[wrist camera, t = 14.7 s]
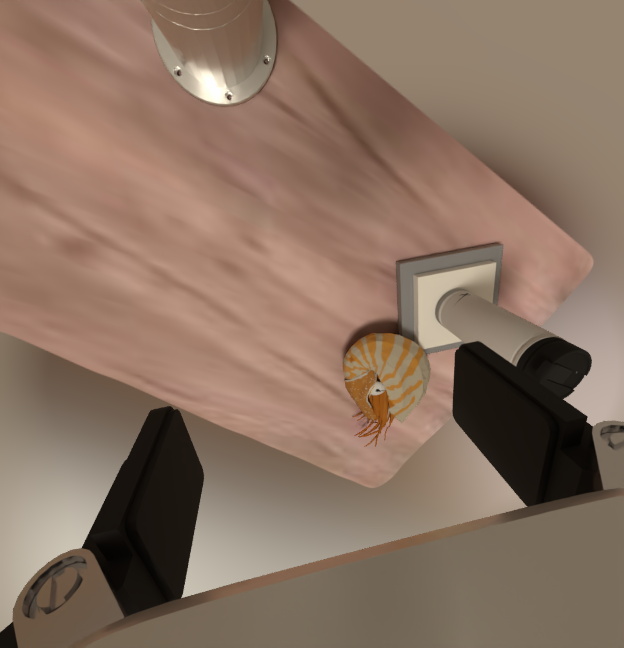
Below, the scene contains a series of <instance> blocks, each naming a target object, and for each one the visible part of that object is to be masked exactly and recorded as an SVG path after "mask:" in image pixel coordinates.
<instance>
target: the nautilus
mask: <svg viewBox="0 0 624 648" xmlns="http://www.w3.org/2000/svg"><path fill="white" fill-rule="evenodd" d="M343 373H344V375H345V386H346V389H347V390H348V392H349V394H350V395H351V397H352V398H353V400H354V401H355V402H356V404H357V406H358V407H359V408H360V410H361V411H362V412H361V413H360V414H362V413H363V414H364V416H366V417H367V418H368V419H369V420H370V419H371V420H372V422H371V424H370V425H369V426H368V427H367V428H365V429H364V430H363V431H361V432H359V433H358V434H360V433H361V434H362V433H363V432H365V431H366V430H367V429H368V428H369V427H370V426H371V425H372V424H373V423H377V424H376V425H375V426H374V428H373V429H372V430H371V431H369V432H368V433H366V434H364V435H362V436H358V437H365V436H369V435H372V434H374V433H377V432H378V434H377V435H376V436H375V437H374V438H373V440H374V439H375V438H376V437H377V438H378V435H379V433H381V430H382V428H383V427H384V426H385V425H386V422H387V421H388V420H389V417H390V425H391V423H392V421H393V419H394V417H395V418H397V419H398V420H399V421H400V422H401V423H403V421H404V420H405V419H406V418H407V416H408V415H409V414H410V413H411V411H412V410H413V409H414V408H415V407H416V406H417V405H418V403H419V402H420V400H421V399H422V397H423V396H424V394H425V393H426V389H427V384H428V382H429V378H430V364H429V361H428V358H427V356H426V354H425V352H424V351H423V350H422V348H421V347H420V346H419V345H417V344H416V343H415V342H414V341H412V340H409V339H407V338H405V337H403V336H400V335H397V334H391V333H371V334H368V335H366V336H364V337H362V338H361V339H359V340H358V341H357V342H356V343H355V344H354V345H353V346H351V348H350V349H349V350H348V352H347V353H346V355H345V358H344V360H343ZM360 414H357V415H360ZM357 415H356V416H357ZM364 416H363V417H364ZM353 417H355V416H353ZM363 417H361V418H363ZM378 417H379V418H378ZM361 418H360V419H361ZM360 419H359V420H360ZM377 419H378V422H376V421H375V422H374V420H377ZM369 420H368V422H369ZM357 421H358V420H357ZM368 422H367V423H368ZM379 424H380V427H379V430H378V431H375V432H373V433H370V432H372V431H373V430H375V429H376V428H377V427H378V426H379ZM383 424H384V425H383ZM390 425H389V427H390ZM375 427H376V428H375ZM387 429H388V428H387ZM387 429H386V431H387ZM369 433H370V434H369ZM358 434H356V435H358ZM361 434H360V435H361ZM367 434H368V435H367ZM354 436H355V435H354ZM385 436H386V432H385ZM377 438H376V444H377ZM373 440H372V441H371V442H370V443H372V442H373ZM384 440H385V439H384ZM370 443H369V444H370ZM369 444H367V445H369ZM376 444H375V446H376ZM367 445H366V446H367ZM364 447H365V446H364Z"/></svg>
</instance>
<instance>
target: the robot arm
mask: <svg viewBox="0 0 624 648" xmlns="http://www.w3.org/2000/svg"><path fill="white" fill-rule="evenodd" d="M141 1H142V3H143V4H144V6H145V7H146V9H147V10H148V12H149V14H150V15H151V25H152V31H153V36H154V41H155V44H156V47H157V49H158V52H159V55H160V57H161V59H162V61H163V63H164V65H165V66H166V68H167V70H168V71H169V73H170V74H171V75H172V77H173V78H174V79H175V80H176V82H177V83H178V84H179V85H180V86H181V87H182V88H183V89H184V90H186V91H187V92H188V93H189V94H190V95H192V96H193V97H195V98H197V99H198V100H200V101H202V102H205V103H207V104H210V105H214V106H221V107H227V106H236V105H239V104H242V103H244V102H246V101H248V100H249V99H251V98H253V97H254V96H255V95H256V94H257V93H258V92H259V91H260V90H261V89H262V88H263V86H264V85H265V83H266V82H267V80H268V78H269V76H270V73H271V71H272V68H273V64H274V60H275V54H276V28H275V21H274V17H273V13H272V10H271V7H270V4H269V2H268V0H141ZM265 60H267V61H268V62H269V63H268V64H267V65H266V64H264V61H265ZM179 71H181V72H182V75H181V76H178V75H177V73H178V72H179ZM229 95H230V96H231V97H232V99H231V100H228V99H227V97H228V96H229ZM452 411H453V417H454V419H455V421H456V422H457V424H458V425H459V426H460V427H461V428H462V430H463V431H464V432H465V433H466V434H467V436H468V437H469V438H470V439H471V440H472V442H473V443H474V444H475V445H476V446H477V447H478V449H479V450H480V451H481V452H482V453H483V454H484V456H485V457H486V458H487V459H488V461H489V462H490V463H491V464H492V465H493V466H494V468H495V469H496V470H497V471H498V473H499V474H500V475H501V476H502V477H503V478H504V480H505V481H506V482H507V483H508V484H509V486H510V487H511V488H512V489H513V490H514V492H515V493H516V494H517V495H518V496H519V498H520V499H521V500H522V501H523V502H524V503H525V505H526V506H528V507H525V508H522V509H518V510H514V511H510V512H506V513H502V514H498V515H494V516H490V517H486V518H482V519H478V520H474V521H470V522H466V523H463V524H458V525H454V526H451V527H447V528H443V529H439V530H435V531H431V532H428V533H423V534H419V535H415V536H412V537H408V538H404V539H400V540H396V541H392V542H389V543H385V544H381V545H377V546H373V547H369V548H365V549H362V550H358V551H354V552H350V553H346V554H342V555H339V556H335V557H331V558H327V559H324V560H320V561H316V562H313V563H308V564H305V565H301V566H297V567H293V568H290V569H286V570H282V571H279V572H275V573H271V574H267V575H263V576H260V577H256V578H252V579H248V580H245V581H241V582H237V583H233V584H230V585H226V586H223V587H219V588H216V589H212V590H209V591H206V592H202V593H198V594H195V595H191V596H188V597H185V598H181V597H182V594H183V589H184V585H185V579H186V574H187V568H188V563H189V558H190V552H191V547H192V541H193V535H194V530H195V525H196V520H197V514H198V509H199V503H200V498H201V492H202V487H203V481H204V473H203V469H202V466H201V464H200V461H199V459H198V456H197V454H196V451H195V449H194V446H193V443H192V441H191V438H190V436H189V433H188V431H187V428H186V426H185V423H184V421H183V418H182V416H181V413H180V411H179V410H178V409H176V410H174V409H173V408H172V407H171V406H168V407H164V408H158V409H154V410H151V411H150V412H149V414H148V416H147V418H146V421H145V423H144V425H143V427H142V429H141V431H140V433H139V435H138V437H137V439H136V442H135V443H134V446H133V448H132V450H131V452H130V454H129V456H128V458H127V460H125V462H124V463H123V465H122V466H121V468H120V470H119V473H118V474H117V477H116V479H115V481H114V483H113V485H112V487H111V489H110V491H109V493H108V495H107V497H106V499H105V501H104V503H103V505H102V507H101V509H100V511H99V513H98V515H97V518H96V520H95V522H94V524H93V526H92V528H91V530H90V532H89V534H88V536H87V538H86V540H85V542H84V544H83V546H82V548H81V549H74V550H70V551H68V552H66V553H63V554H61V555H59V556H58V557H56V558H54V559H53V560H51V561H50V562H48V563H47V564H46V565H45V566H44V567H42V568H41V569H40V570H39V571H38V572H37V573H36V574H35V575H34V576H33V577H32V578H31V580H30V581H29V582H28V583H27V584H26V585H25V587H24V588H23V590H22V592H21V593H20V595H19V596H18V598H17V601H16V603H15V606H14V608H13V622H12V623H11V624H10V625H9V626H7V627H6V628H5V629H4V630H3V631H1V632H0V648H624V422H619V421H603V422H600V423H597V424H596V425H595V426H594V427H593V426H591V425H590V424H589V423H587V422H586V421H587V416H586V415H584V414H583V413H581V412H580V411H579V410H577V409H576V408H574V407H573V406H572V405H570V404H569V403H567V402H566V401H564V400H563V399H562V398H560V397H559V396H557V395H556V394H554V393H553V392H552V391H550V390H549V389H547V388H546V387H545V386H543V385H542V384H540V383H539V382H537V381H536V380H535V379H533V378H532V377H530V376H529V375H527V374H526V373H525V372H523V371H522V370H520V369H519V368H517V367H516V366H515V365H513V364H512V363H510V362H509V361H507V360H506V359H505V358H503V357H502V356H500V355H499V354H497V353H496V352H495V351H493V350H492V349H490V348H489V347H487V346H486V345H485V344H483V343H482V342H480V341H475V342H470V343H465V344H462V345H460V347H459V349H458V350H456V352H455V367H454V389H453V410H452Z"/></svg>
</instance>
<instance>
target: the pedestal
mask: <svg viewBox="0 0 624 648" xmlns="http://www.w3.org/2000/svg"><path fill="white" fill-rule="evenodd" d="M502 253H503V244H498V243H494V244H489V245H483V246H478V247H473V248H467V249H462V250H456V251H451V252H446V253H440V254H435V255H430V256H424V257H419V258H414V259H408V260H403V261H397V262H396V277H397V304H398V331H399V335H400V336H403V337H405V338H407V339H409V340H412V341H414V342H415V343H416V344H417V345H419V346H420V347H421V348H422V350H423V351H424V352H425V354H429V353H434V352H439V351H443V350H448V349H453V348H458V347H460V345H462V344H465V343H464V342H463V341H462V340H460V339H459V338H458V337H456V336H455V335H454V334H452V333H451V332H450V331H448V330H447V329H446V328H444V327H443V326H442V325H441V324H440V323H439V322H438V321H437V319H436V315H435V311H436V306H437V304H438V302H439V300H440V299H441V297H442V296H443V295H445V294H446V293H447V292H449V291H451V290H454V289H464V290H467V291H469V292H471V293H473V294H475V295H477V296H479V297H481V298H483V299H485V300H487V301H489V302H491V303H493V304H495V305H497V303H498V293H499V283H500V273H501V263H502Z"/></svg>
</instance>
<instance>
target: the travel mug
mask: <svg viewBox="0 0 624 648" xmlns="http://www.w3.org/2000/svg"><path fill="white" fill-rule="evenodd" d="M435 315H436V319H437V321H438V322H439V323H440V324H441V325H442V326H443V327H444V328H446V329H447V330H448V331H450V332H451V333H452V334H454V335H455V336H456V337H458V338H459V339H460V340H462V341H463V342H464V343H470V342H475V341H480V342H482V343H483V344H485V345H486V346H487V347H489V348H490V349H492V350H493V351H495V352H496V353H497V354H499V355H500V356H502V357H503V358H505V359H506V360H507V361H509V362H510V363H512V364H513V365H515V366H516V367H517V368H519V369H520V370H522V371H523V372H525V373H526V374H527V375H529V376H530V377H532V378H533V379H535V380H536V381H537V382H539V383H540V384H542V385H543V386H545V387H546V388H547V389H549V390H550V391H552V392H553V393H554V394H556V395H557V396H559V397H560V398H562V399H564V398H566V397H567V396H569V395H570V394H571V393H572V392H573V391H574V390H573V389H574V388H575V387H576V386H577V385H578V384H579V383H580V382H581V380H582V379H583V378H584V375H586V376H587V374H588V372H589V371H590V368H591V363H592V360H591V356H590V354H589V353H588V352H587V351H585V350H583V349H581V348H579V347H577V346H575V345H573V344H571V343H569V342H567V341H565V340H564V339H562V338H561V337H559V336H556V335H555V334H553V333H551V332H549V331H547V330H545V329H543V328H541V327H539V326H537V325H535V324H533V323H531V322H529V321H527V320H525V319H523V318H521V317H519V316H517V315H515V314H513V313H511V312H509V311H507V310H505V309H503V308H501V307H499V306H497V305H495V304H493V303H491V302H489V301H487V300H485V299H483V298H481V297H479V296H477V295H475V294H473V293H471V292H469V291H467V290H464V289H454V290H451V291H449V292H447V293H446V294H445V295H443V296H442V297H441V299H440V300H439V302H438V304H437V306H436V311H435Z"/></svg>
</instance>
